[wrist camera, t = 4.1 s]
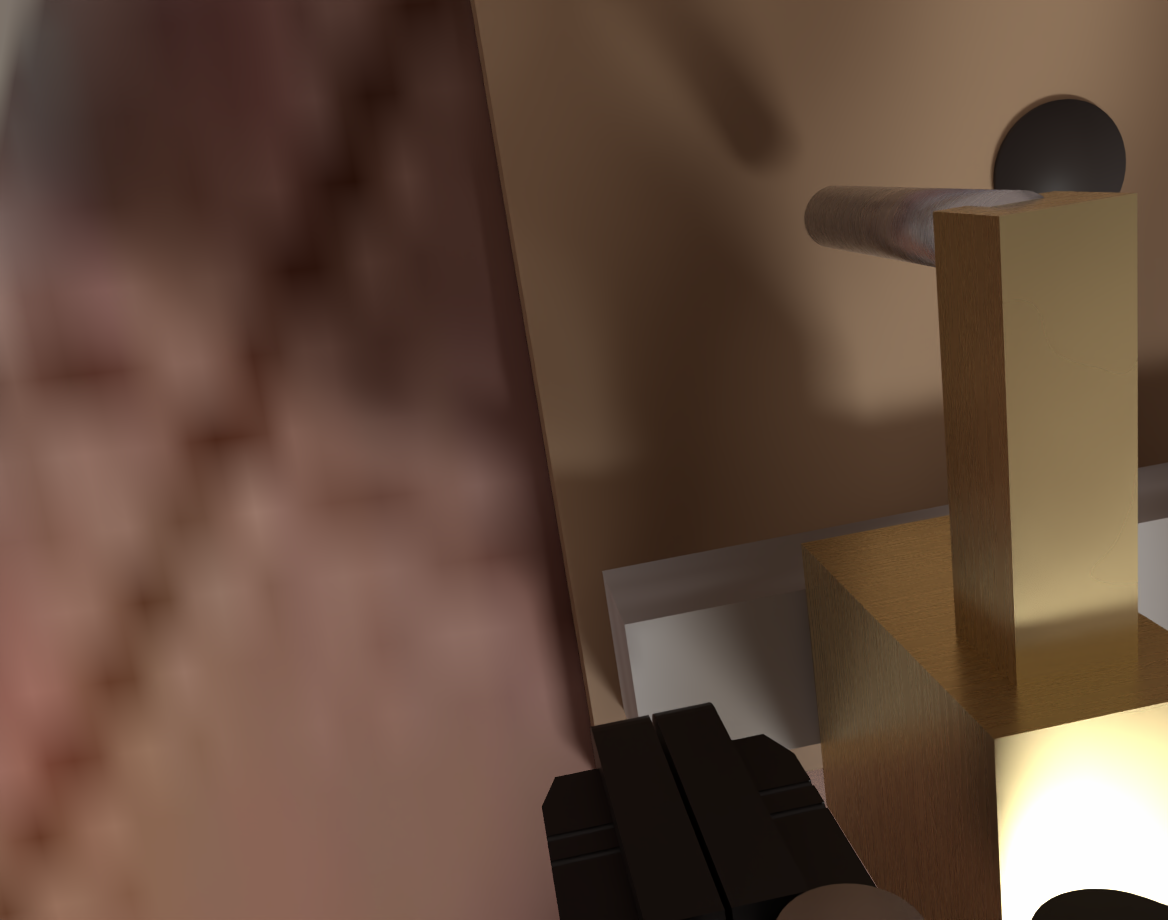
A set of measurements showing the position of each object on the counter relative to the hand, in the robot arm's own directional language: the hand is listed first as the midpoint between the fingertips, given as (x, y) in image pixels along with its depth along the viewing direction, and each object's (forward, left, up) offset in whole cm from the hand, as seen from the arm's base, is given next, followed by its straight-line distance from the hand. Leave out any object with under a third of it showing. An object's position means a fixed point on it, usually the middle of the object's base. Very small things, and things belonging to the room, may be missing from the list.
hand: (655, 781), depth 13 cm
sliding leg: (-4, -2, -3) cm, 5 cm away
